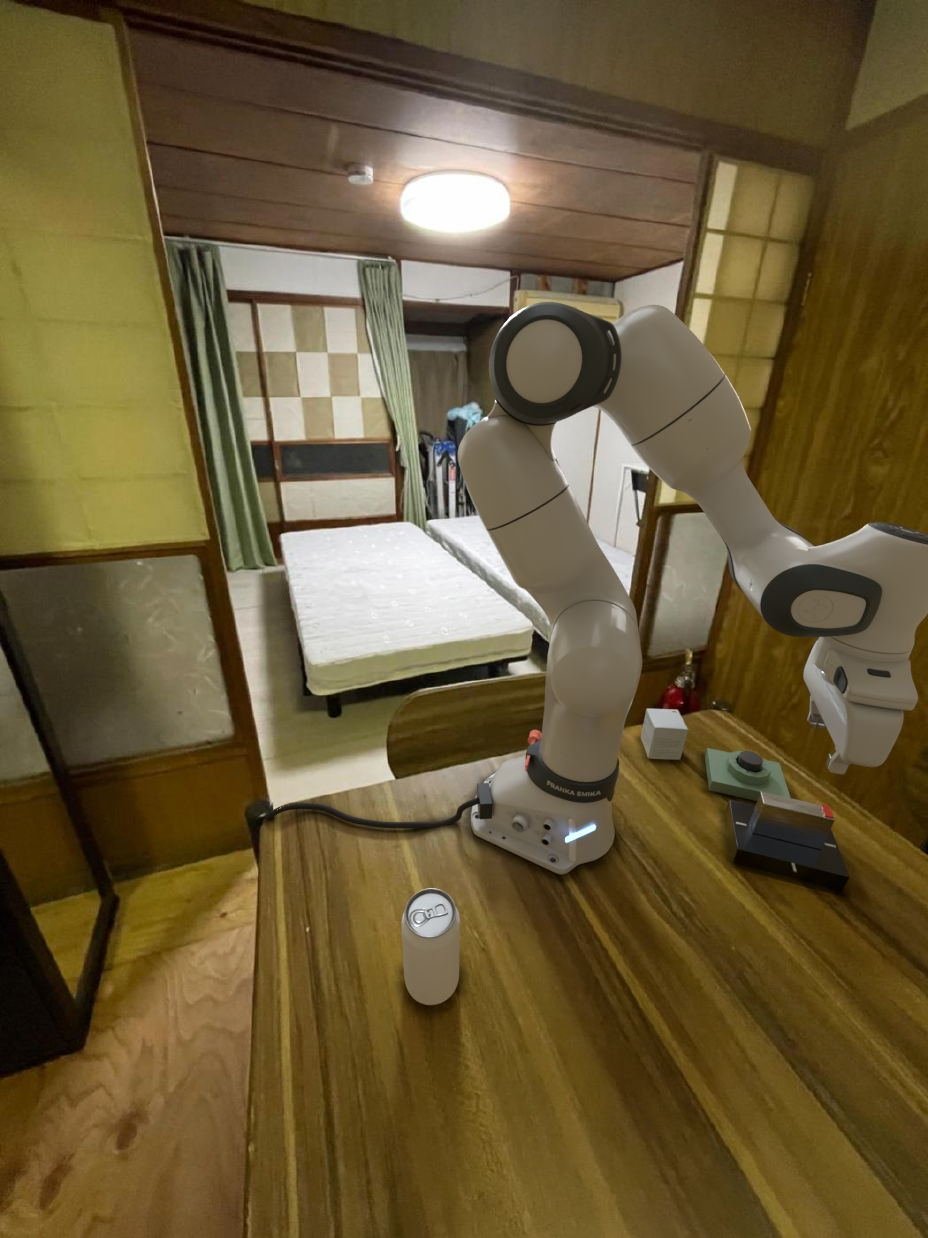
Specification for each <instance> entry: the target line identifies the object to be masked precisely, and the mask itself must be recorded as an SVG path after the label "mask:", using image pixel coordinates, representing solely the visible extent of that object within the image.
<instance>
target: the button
mask: <svg viewBox="0 0 928 1238" xmlns="http://www.w3.org/2000/svg"><path fill="white" fill-rule="evenodd" d="M741 751H742V752H741V753H740V755H739V758H738V761H737V763H738V765H739V766H740V767H741V768H743V769H745V770H747V771H750V772H759V771H760V769H761V766H762V763H763V759H764V758H763V757H761V755H760V754H758V753H757V752H754V751H750V750H741ZM762 758H763V759H762Z"/></svg>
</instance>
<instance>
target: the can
mask: <svg viewBox="0 0 928 1238" xmlns="http://www.w3.org/2000/svg"><path fill="white" fill-rule="evenodd" d="M400 927H401V928H400V929H401V947H402V949H401V950H402V963H403V964H402V965H403V977H404V978H403V979H404V984H405V988H406V989H407V992H408V993H409V995H410V996H411V998H412V999H413V1000H415V1001H416V1002H418V1003H420V1004H422V1005H426V1006H435V1005H440V1004H442V1003H444V1002H446V1001H447V1000H448V999H449V998H450V997H451V996H452V995H453V994H454V993H455V992H456V989H457V987H458V984H459V979H460V964H461V963H460V959H461V957H460V956H461V919H460V913H459V910H458V907H457V906H456V903H455V901H454V899H453V898H452V897H451V895H450V894H449V893H447V891H445V890H443V889H439V888H435V887H431V888H424V889H421V890H419V891H418V892H416V893H414V894H413V895H412V896H411V897H410V898H409V899H408V901H407V903H406V905H405V907H404V911H403V914H402V917H401V926H400Z"/></svg>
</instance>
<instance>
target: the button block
mask: <svg viewBox="0 0 928 1238" xmlns="http://www.w3.org/2000/svg"><path fill="white" fill-rule="evenodd" d="M705 751H706V752H705V754H704V759H705V760H704V762H705V769H706V777H707V784H708V791H711V792H715V793H719V794H723V795H728V796H733V797H736V798H741V799H746V800H749V801H750V800H751V801H754V802H757V801H758V798H759V795H760V792H765V793H769V794H774V795H778V796H783V797H787V798H792V797H791V794H790V791H789V788H788V785H787V782H786V778H785V775H784V773H783V768H782V766H781V763H780V762H778V761H773V760H768V759H764V758H763V757H761V758H762V759H763V763H762V766H761V769H760V771H759V772H750V771H747V770H745V769H743V768H741V767H740V766H739V765H738V763H737V761H738V758H739V755H740V753H741V752H742V751H743V750H736V751H732V752H729V751H725V750H721V749H715V748H709V747H707V748H706V750H705Z"/></svg>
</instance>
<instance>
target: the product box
mask: <svg viewBox="0 0 928 1238" xmlns="http://www.w3.org/2000/svg"><path fill="white" fill-rule="evenodd" d="M645 709H646V710H645V715H644V718H643V724H642V728H641V733H640V740H641V743H642V745H643V747H644V750H645V754H646V757H647V758H648V759H649V760H651V759H653V760H673V761H680V760H681V758H682V755H683V751H684V747H685V743H686V739H687V736H688V731H689V728H688V726H687V724H686V723H685V720H684V718H683V716H682V714H681V712H680V711H679V709H671V708H670V709H669V708H647V707H646V708H645Z"/></svg>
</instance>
